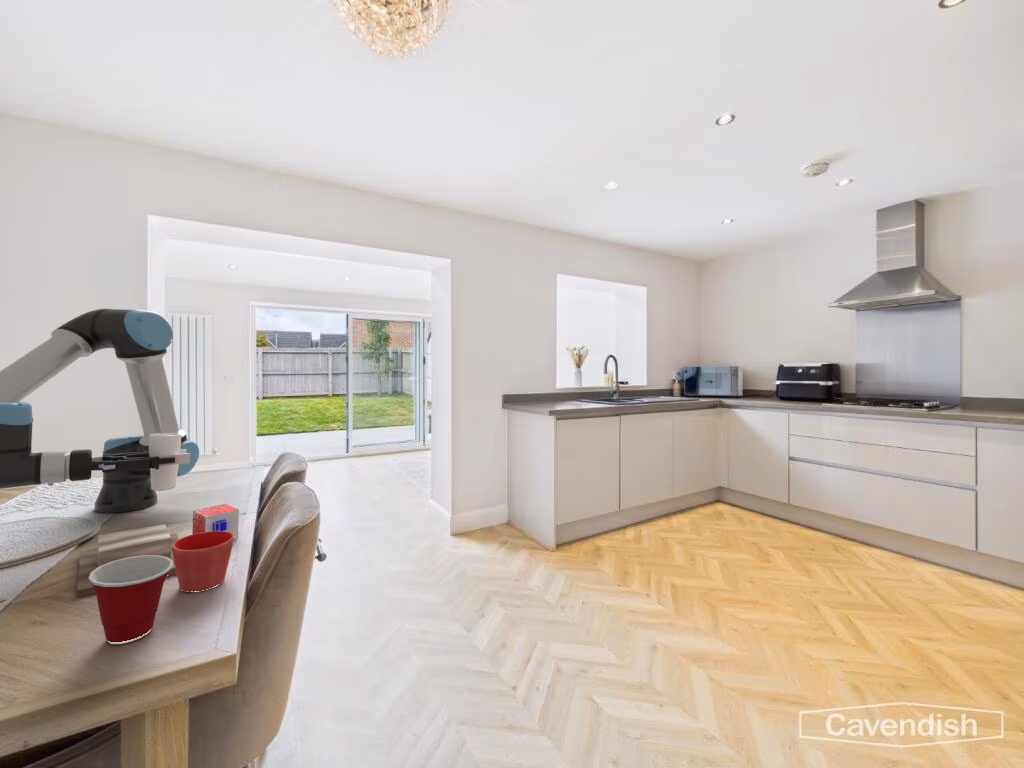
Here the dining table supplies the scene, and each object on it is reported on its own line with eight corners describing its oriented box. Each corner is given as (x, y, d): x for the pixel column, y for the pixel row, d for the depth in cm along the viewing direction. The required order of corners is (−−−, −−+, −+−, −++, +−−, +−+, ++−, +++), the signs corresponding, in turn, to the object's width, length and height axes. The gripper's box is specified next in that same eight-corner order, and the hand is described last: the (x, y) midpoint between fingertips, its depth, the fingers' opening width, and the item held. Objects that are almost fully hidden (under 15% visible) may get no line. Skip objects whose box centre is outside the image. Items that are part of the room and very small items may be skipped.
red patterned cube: (225, 531, 119) (225, 503, 119) (238, 537, 114) (239, 509, 114) (191, 539, 112) (192, 510, 112) (204, 547, 108) (205, 516, 108)
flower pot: (244, 577, 93) (246, 534, 93) (193, 602, 82) (194, 553, 82) (211, 568, 96) (212, 527, 96) (158, 591, 86) (159, 544, 86)
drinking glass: (186, 486, 116) (187, 433, 116) (163, 493, 110) (165, 436, 110) (164, 485, 117) (165, 432, 117) (140, 491, 110) (142, 435, 110)
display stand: (79, 557, 99) (80, 531, 99) (176, 539, 112) (176, 515, 112) (76, 598, 82) (77, 565, 82) (190, 570, 95) (191, 542, 95)
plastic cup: (139, 655, 67) (141, 581, 66) (66, 656, 66) (68, 581, 66) (186, 616, 77) (188, 553, 77) (125, 617, 77) (126, 552, 76)
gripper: (70, 473, 107) (182, 463, 124) (66, 490, 94) (193, 475, 110) (70, 445, 107) (183, 438, 124) (66, 457, 94) (194, 447, 110)
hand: (187, 456), depth 117 cm, fingers closed on drinking glass, 6 cm apart
